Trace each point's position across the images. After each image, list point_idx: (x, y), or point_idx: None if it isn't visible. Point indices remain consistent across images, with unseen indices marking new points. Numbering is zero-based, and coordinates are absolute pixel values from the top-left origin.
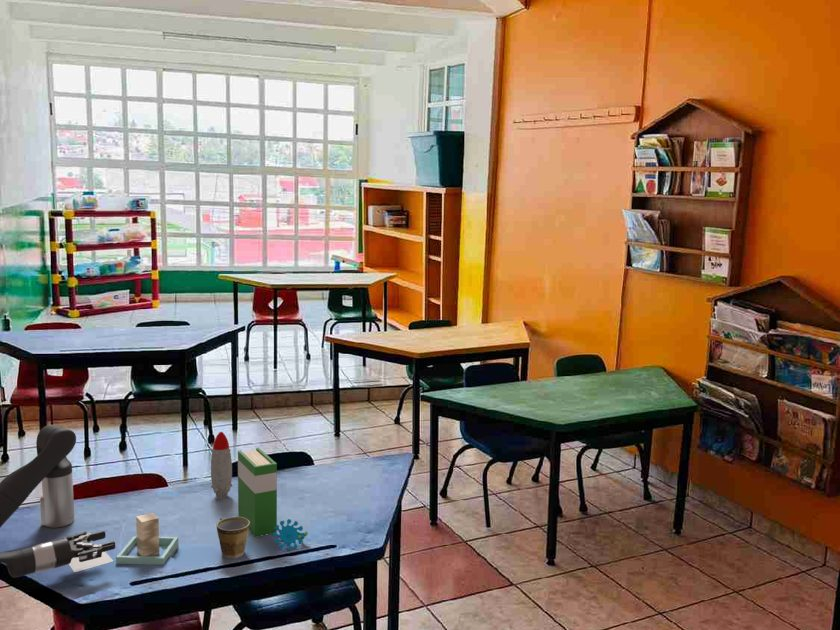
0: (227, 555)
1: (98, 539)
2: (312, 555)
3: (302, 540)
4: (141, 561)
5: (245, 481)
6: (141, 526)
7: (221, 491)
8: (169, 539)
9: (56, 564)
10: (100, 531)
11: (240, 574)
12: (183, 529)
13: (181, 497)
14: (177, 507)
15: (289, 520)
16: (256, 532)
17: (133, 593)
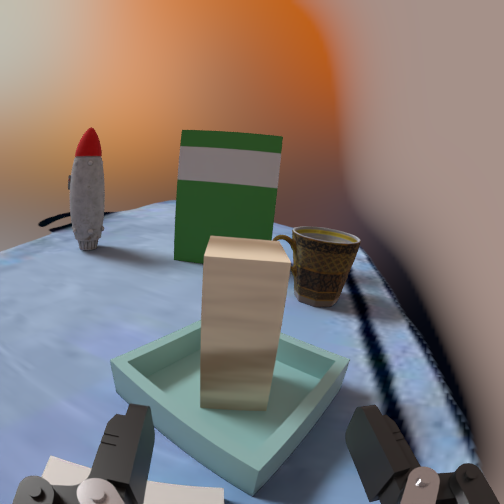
0: (334, 300)
1: (146, 473)
2: (359, 264)
3: None
4: (315, 412)
5: (221, 178)
6: (280, 286)
7: (96, 234)
8: None
9: None
10: (124, 420)
11: (399, 310)
12: (137, 302)
13: (29, 262)
14: (47, 275)
15: None
16: None
17: (465, 459)
